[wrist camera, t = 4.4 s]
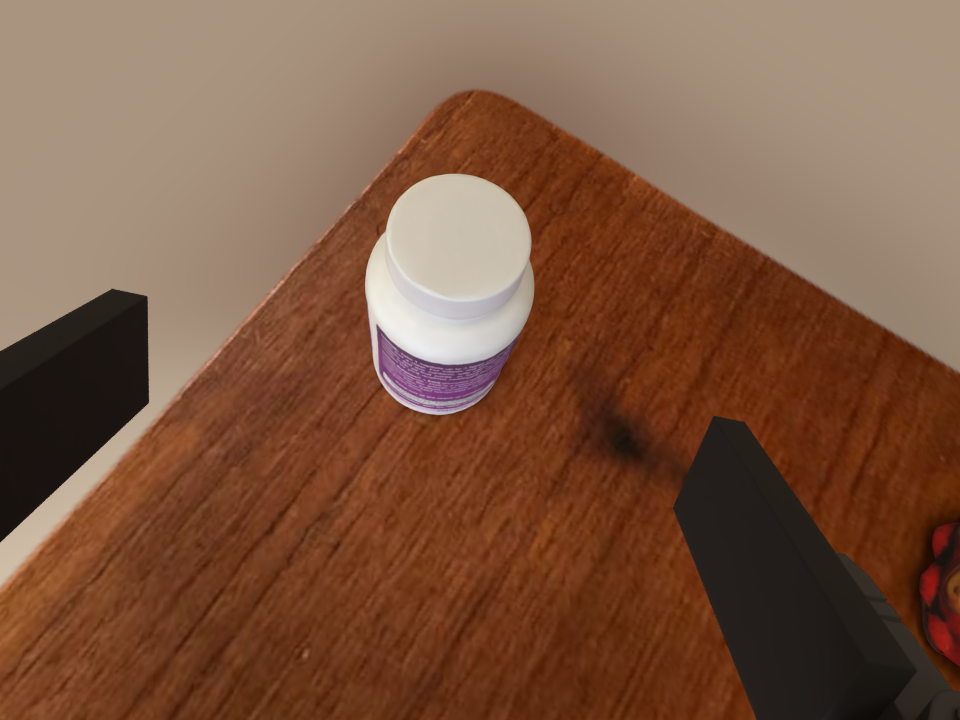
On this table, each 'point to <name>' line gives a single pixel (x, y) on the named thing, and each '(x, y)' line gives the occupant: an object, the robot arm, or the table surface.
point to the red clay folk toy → (943, 593)
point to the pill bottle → (448, 292)
